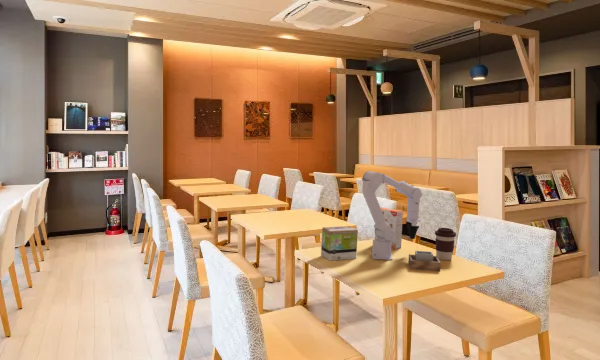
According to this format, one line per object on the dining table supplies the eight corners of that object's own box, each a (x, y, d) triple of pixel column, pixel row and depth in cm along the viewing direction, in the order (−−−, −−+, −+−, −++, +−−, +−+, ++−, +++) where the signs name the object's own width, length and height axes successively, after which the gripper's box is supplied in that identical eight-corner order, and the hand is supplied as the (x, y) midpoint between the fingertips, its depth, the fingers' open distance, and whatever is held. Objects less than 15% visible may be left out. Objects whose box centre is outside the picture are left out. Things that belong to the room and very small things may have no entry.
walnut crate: (410, 269, 189) (411, 260, 189) (408, 262, 199) (408, 254, 199) (439, 271, 187) (440, 262, 187) (436, 264, 197) (436, 256, 197)
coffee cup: (455, 262, 202) (457, 231, 201) (434, 260, 204) (436, 230, 203) (452, 256, 212) (454, 227, 210) (432, 254, 214) (434, 226, 212)
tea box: (329, 261, 198) (330, 231, 196) (320, 256, 207) (321, 227, 206) (357, 258, 204) (358, 229, 202) (346, 253, 213) (347, 225, 212)
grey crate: (415, 266, 191) (416, 253, 191) (414, 263, 196) (415, 250, 196) (432, 267, 190) (433, 254, 189) (430, 264, 195) (431, 251, 194)
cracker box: (373, 244, 232) (375, 207, 230) (380, 243, 236) (381, 206, 234) (395, 250, 222) (396, 211, 220) (401, 248, 226) (403, 210, 224)
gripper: (423, 213, 202) (421, 240, 204) (419, 208, 217) (418, 234, 218) (408, 212, 204) (406, 240, 205) (405, 208, 218) (404, 233, 219)
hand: (411, 237), depth 212 cm, fingers open, 7 cm apart
